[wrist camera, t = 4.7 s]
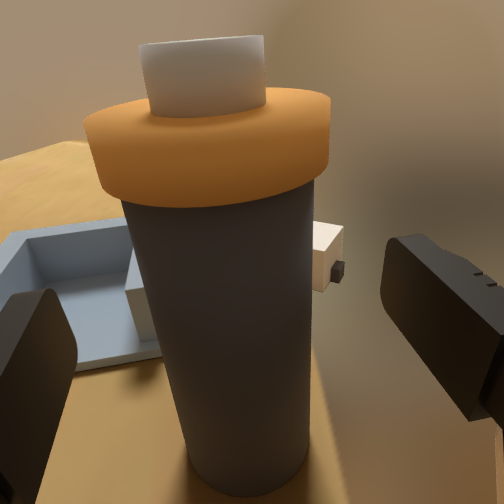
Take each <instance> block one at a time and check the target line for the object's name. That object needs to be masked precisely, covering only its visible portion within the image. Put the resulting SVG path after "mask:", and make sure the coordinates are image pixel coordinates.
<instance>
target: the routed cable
mask: <svg viewBox="0 0 504 504" xmlns="http://www.w3.org/2000/svg"><path fill="white" fill-rule="evenodd" d="M342 241H343V226H338V225H333V224H327V223H321V222H316V221H313V264H312V290H315V291H319V292H324V290H325V289H326V287H327V286H328V284H329V283H330V282H335V283H339V282H340V281H341V279H342V277H343V275H344V263H345V262H343V261H341V257H342Z"/></svg>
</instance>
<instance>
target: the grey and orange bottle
mask: <svg viewBox="0 0 504 504" xmlns="http://www.w3.org/2000/svg"><path fill="white" fill-rule="evenodd" d="M138 49H139V54H140V59H141V64H142V69H143V74H144V79H145V85H146V89H147V95H148V98H146V99H141V100H136V101H131V102H127V103H123V104H119V105H115V106H112V107H109V108H106V109H103V110H100V111H98V112H95V113H93V114H91V115H90V116H88V117H87V118H86V119H85V120H84V122H83V125H84V128H85V132H86V135H87V138H88V142H89V145H90V149H91V152H92V156H93V159H94V163H95V166H96V170H97V173H98V177H99V180H100V183H101V186H102V188H103V189H104V190H105V191H106V192H107V193H108V194H110V195H112V196H113V197H115V198H118V199H121V203H122V207H123V211H124V214H125V218H126V222H127V226H128V229H129V233H130V237H131V241H132V244H133V248H134V252H135V256H136V259H137V263H138V267H139V271H140V274H141V278H142V282H143V286H144V289H145V293H146V297H147V301H148V304H149V308H150V312H151V316H152V319H153V323H154V327H155V331H156V334H157V338H158V342H159V346H160V349H161V353H162V357H163V361H164V364H165V368H166V372H167V376H168V379H169V383H170V387H171V391H172V394H173V398H174V402H175V406H176V409H177V413H178V417H179V421H180V424H181V428H182V432H183V436H184V439H185V443H186V447H187V451H188V454H189V458H190V461H191V463H192V466H193V467H194V469H195V471H196V472H197V474H198V475H199V476H200V478H201V479H202V480H203V481H204V482H205V483H206V484H208V485H209V486H211V487H212V488H213V489H215V490H217V491H219V492H222V493H225V494H227V495H231V496H237V497H253V496H259V495H263V494H266V493H269V492H271V491H274V490H276V489H277V488H279V487H281V486H282V485H284V484H285V483H286V482H288V481H289V480H290V479H291V478H292V477H293V476H294V475H295V474H296V472H297V471H298V470H299V468H300V467H301V465H302V463H303V461H304V459H305V456H306V454H307V450H308V446H309V426H310V372H311V318H312V264H313V209H314V205H313V204H314V179H315V178H316V177H317V176H319V175H320V174H321V173H322V172H323V171H324V170H325V169H326V167H327V165H328V159H329V158H328V157H329V156H328V155H329V133H330V132H329V131H330V106H331V99H330V98H329V97H328V96H326V95H324V94H322V93H319V92H314V91H309V90H302V89H291V88H266V86H265V63H264V40H263V35H254V36H238V37H223V38H210V39H198V40H186V41H174V42H163V43H152V44H142V45H138Z"/></svg>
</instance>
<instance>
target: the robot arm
mask: <svg viewBox="0 0 504 504" xmlns="http://www.w3.org/2000/svg"><path fill="white" fill-rule="evenodd" d="M380 294H381V300H382V304H383V307H384V309H385V311H386V312H387V314H388V315H389V316H390V318H391V319H392V320H393V322H394V323H395V324H396V326H397V327H398V328H399V330H400V331H401V332H402V334H403V335H404V336H405V338H406V339H407V340H408V342H409V343H410V344H411V346H412V347H413V348H414V350H415V351H416V352H417V354H418V355H419V356H420V358H421V359H422V360H423V362H424V363H425V364H426V365H427V367H428V368H429V370H430V371H431V372H432V374H433V375H434V376H435V377H436V379H437V380H438V382H439V383H440V384H441V385H442V387H443V388H444V389H445V391H446V392H447V393H448V395H449V396H450V397H451V399H452V400H453V401H454V403H455V404H456V405H457V406H458V408H459V409H460V411H461V412H462V413H463V415H464V416H465V417H466V418H467V420H468V421H469V422H471V421H475V420H480V419H485V418H489V417H492V418H493V419H494V420H495V422H496V423H497V424H498V425H499V426H498V429H497V431H496V434H495V449H496V479H497V504H504V288H503V287H501V286H497V283H496V282H495V281H494V280H492V279H491V278H490V277H489V276H487V275H483V272H482V271H481V270H480V269H478V268H477V267H476V266H475V265H473V264H472V263H471V262H469V261H468V260H467V259H464V258H462V257H460V256H458V255H456V254H453V253H451V252H449V251H446V250H443V249H441V248H440V247H439V246H438V245H436V244H435V243H434V242H433V241H431V240H430V239H429V238H428V237H427V236H425V235H423V234H415V235H408V236H401V237H394V238H391V239H389V241H388V242H387V245H386V250H385V258H384V265H383V272H382V280H381V287H380ZM77 361H78V348H77V342H76V339H75V336H74V334H73V331H72V329H71V327H70V324H69V322H68V319H67V317H66V315H65V312H64V310H63V307H62V305H61V303H60V300H59V298H58V296H57V294H56V292H55V291H54V290H53V289H51V288H47V289H41V290H34V291H27V292H21V293H15V294H12V295H11V296H10V297H9V299H8V301H7V302H6V304H5V305H4V307H3V308H2V310H1V311H0V504H35V502H36V498H37V495H38V492H39V488H40V485H41V482H42V478H43V475H44V472H45V468H46V465H47V462H48V459H49V455H50V452H51V449H52V445H53V442H54V439H55V435H56V432H57V429H58V426H59V422H60V419H61V416H62V412H63V409H64V406H65V402H66V399H67V396H68V393H69V389H70V386H71V383H72V379H73V376H74V373H75V369H76V366H77Z"/></svg>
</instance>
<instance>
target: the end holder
mask: <svg viewBox="0 0 504 504" xmlns="http://www.w3.org/2000/svg"><path fill="white" fill-rule="evenodd" d="M47 288H51V289H53V290H54V291H55V292H56V294H57V296H58V298H59V300H60V303H61V305H62V307H63V310H64V312H65V315H66V317H67V319H68V322H69V324H70V327H71V329H72V331H73V334H74V336H75V339H76V342H77V348H78V361H77V366H76V369H75V372H78V371H83V370H89V369H95V368H100V367H106V366H111V365H117V364H123V363H128V362H134V361H140V360H145V359H151V358H156V357H162V353H161V349H160V346H159V342H158V338H157V334H156V331H155V327H154V323H153V319H152V316H151V312H150V308H149V304H148V301H147V297H146V293H145V289H144V286H143V282H142V278H141V274H140V271H139V267H138V263H137V259H136V256H135V252H134V248H133V244H132V241H131V237H130V233H129V229H128V226H127V222H126V218H125V217H121V218H113V219H106V220H98V221H91V222H83V223H76V224H68V225H61V226H53V227H46V228H38V229H31V230H23V231H16V232H11V233H10V235H9V236H8V237H7V238H6V239H5V241H4V242H3V243H2V244H1V245H0V311H1V310H2V308H3V307H4V305H5V304H6V302H7V301H8V299H9V297H10V296H11V295H12V294H15V293H21V292H27V291H34V290H41V289H47Z"/></svg>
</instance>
